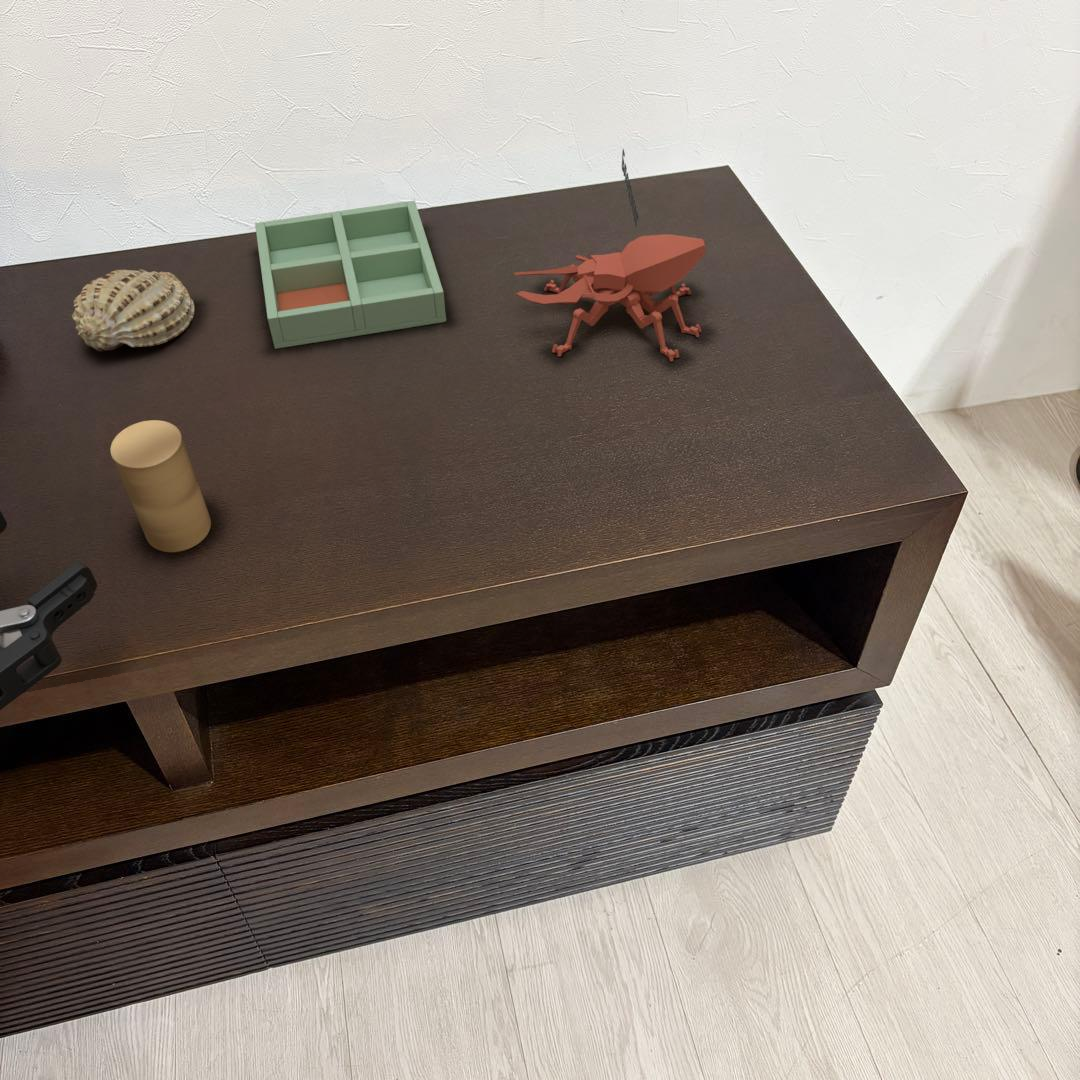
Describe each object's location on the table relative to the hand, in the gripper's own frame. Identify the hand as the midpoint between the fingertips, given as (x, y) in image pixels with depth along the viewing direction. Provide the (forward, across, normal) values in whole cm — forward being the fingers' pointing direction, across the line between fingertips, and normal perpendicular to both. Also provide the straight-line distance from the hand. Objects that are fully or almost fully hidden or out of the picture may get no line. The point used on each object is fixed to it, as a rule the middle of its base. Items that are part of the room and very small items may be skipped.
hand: (42, 542), depth 66 cm
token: (+8, 0, +6) cm, 11 cm away
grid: (+36, +9, +6) cm, 38 cm away
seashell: (+22, +19, +7) cm, 30 cm away
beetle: (+45, -11, +7) cm, 47 cm away
